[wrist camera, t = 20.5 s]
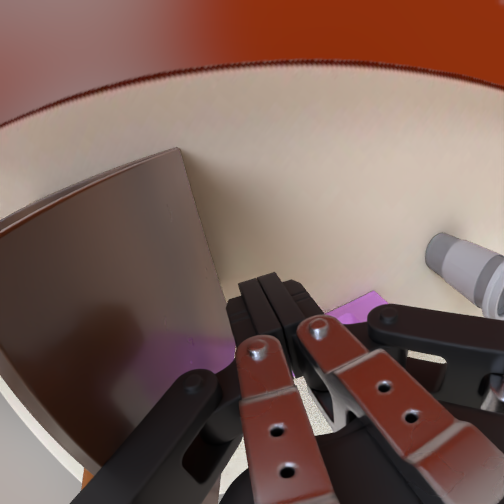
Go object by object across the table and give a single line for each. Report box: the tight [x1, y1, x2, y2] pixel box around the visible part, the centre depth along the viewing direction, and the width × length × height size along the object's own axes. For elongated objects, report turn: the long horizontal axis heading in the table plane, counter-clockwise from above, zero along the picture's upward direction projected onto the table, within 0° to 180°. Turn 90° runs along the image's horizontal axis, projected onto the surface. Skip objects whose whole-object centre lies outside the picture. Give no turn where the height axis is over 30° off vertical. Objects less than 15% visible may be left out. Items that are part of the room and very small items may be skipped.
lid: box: [0, 149, 236, 504], centre depth 12 cm, size 14×13×1 cm
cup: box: [425, 233, 504, 320], centre depth 27 cm, size 7×7×12 cm
